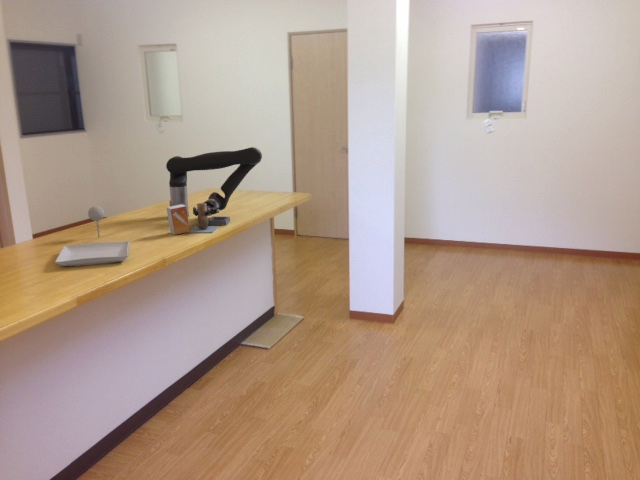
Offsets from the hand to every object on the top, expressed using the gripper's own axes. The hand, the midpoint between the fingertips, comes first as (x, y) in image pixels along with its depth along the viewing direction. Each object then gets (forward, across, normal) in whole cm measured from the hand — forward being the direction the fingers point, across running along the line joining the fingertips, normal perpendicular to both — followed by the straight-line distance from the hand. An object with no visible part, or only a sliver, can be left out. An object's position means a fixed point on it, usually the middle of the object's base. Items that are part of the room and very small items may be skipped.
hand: (200, 213), depth 275 cm
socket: (-19, +4, +9) cm, 21 cm away
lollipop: (+12, -47, +9) cm, 49 cm away
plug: (-3, 0, +8) cm, 8 cm away
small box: (+3, -10, +9) cm, 14 cm away
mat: (-3, 0, +9) cm, 9 cm away
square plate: (+47, -32, +9) cm, 58 cm away
